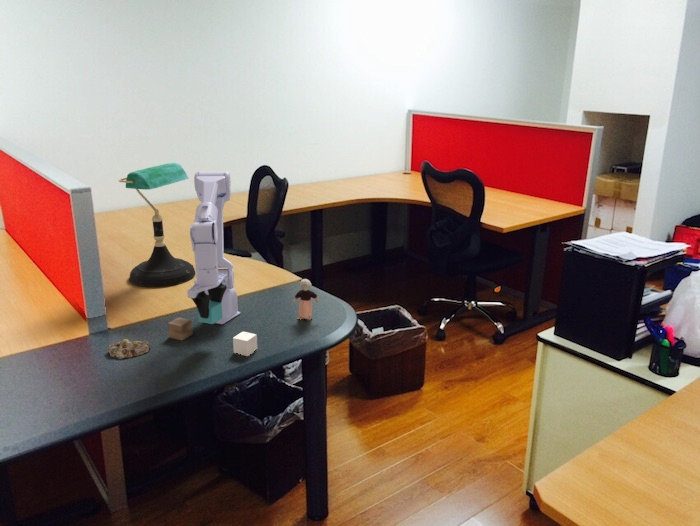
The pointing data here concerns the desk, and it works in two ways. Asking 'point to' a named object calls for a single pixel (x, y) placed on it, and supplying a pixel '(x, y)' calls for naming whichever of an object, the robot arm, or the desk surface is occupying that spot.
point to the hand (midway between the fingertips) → (210, 314)
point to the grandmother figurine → (305, 300)
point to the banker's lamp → (158, 231)
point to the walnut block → (180, 328)
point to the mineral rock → (128, 349)
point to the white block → (245, 343)
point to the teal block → (212, 313)
